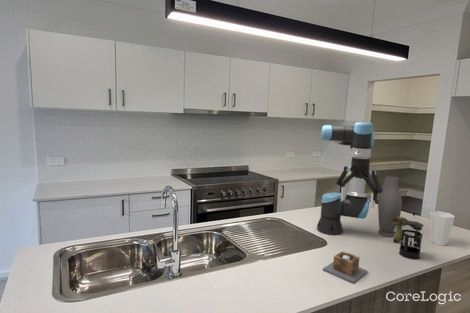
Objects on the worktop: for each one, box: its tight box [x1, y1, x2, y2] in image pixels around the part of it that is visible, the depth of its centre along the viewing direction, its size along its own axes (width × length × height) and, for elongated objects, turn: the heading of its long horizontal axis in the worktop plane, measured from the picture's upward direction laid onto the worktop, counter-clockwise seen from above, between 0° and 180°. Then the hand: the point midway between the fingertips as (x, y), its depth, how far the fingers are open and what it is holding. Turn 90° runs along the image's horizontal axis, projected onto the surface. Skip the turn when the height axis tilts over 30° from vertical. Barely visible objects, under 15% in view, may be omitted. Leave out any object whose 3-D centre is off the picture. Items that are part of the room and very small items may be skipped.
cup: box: [429, 210, 456, 247], centre depth 164 cm, size 11×10×17 cm
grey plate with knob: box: [322, 255, 368, 285], centre depth 130 cm, size 14×14×7 cm
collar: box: [333, 250, 361, 276], centre depth 130 cm, size 8×8×6 cm
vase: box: [377, 175, 403, 238], centre depth 174 cm, size 13×13×35 cm
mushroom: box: [391, 216, 409, 243], centre depth 163 cm, size 9×9×15 cm
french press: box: [398, 210, 424, 260], centre depth 147 cm, size 12×9×23 cm
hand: (357, 203), depth 132 cm, fingers open, 13 cm apart
